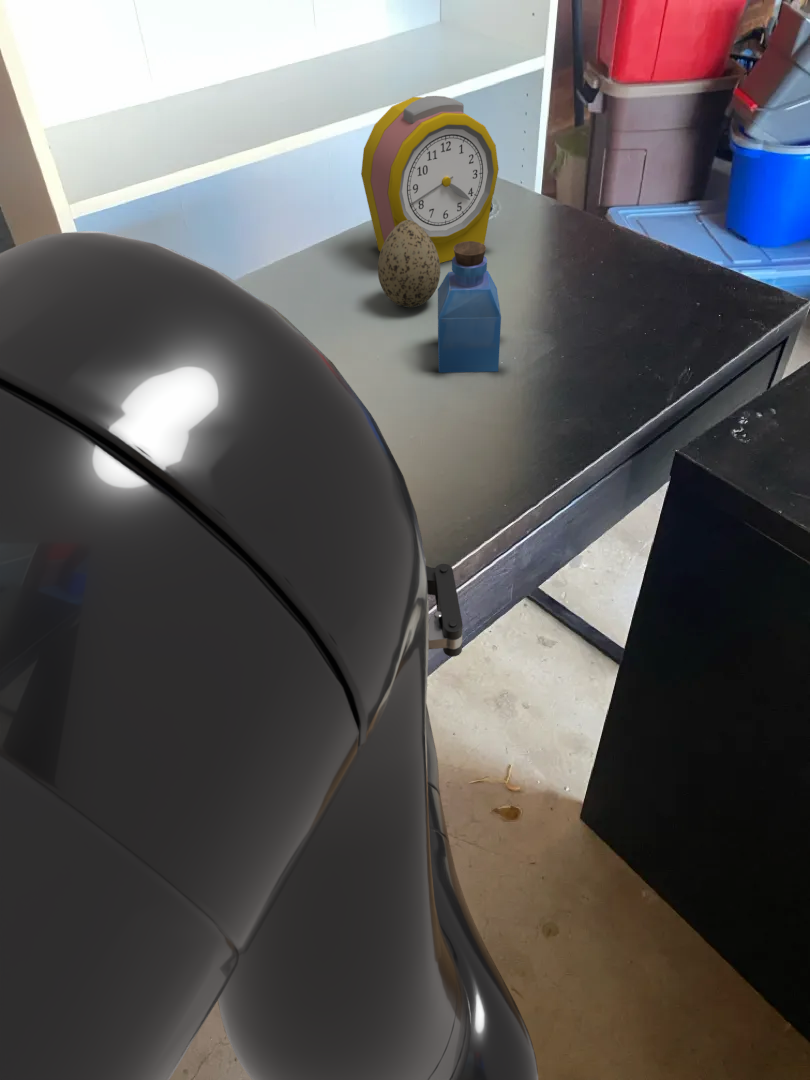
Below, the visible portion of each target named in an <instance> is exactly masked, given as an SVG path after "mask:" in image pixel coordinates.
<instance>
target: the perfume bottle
mask: <svg viewBox="0 0 810 1080" xmlns="http://www.w3.org/2000/svg"><path fill="white" fill-rule="evenodd" d="M486 249H487V246H486V245H485V243H484V244H482V243H479V242H474V241H466V242H461V243H458V244H456V245H455V246H454V253H455V256H454V257H453V259H452V260H451V271H448V272H447V273H446V275H445V277H444V278H443V280H442V282H441V283H440V286H439V287H438V289H437V351H438V352H437V353H438V357H437V358H438V373H439V374H443V373H485V372H486V373H487V372H489V373H491V372H493V373H495V372H499V367H500V366H499V364H500V347H501V346H500V345H501V326H502V314H501V306H500V300H499V294H498V288H497V286H496V283H495V282H494V280H493V278H492V276H491V274H490V272H489V271H488V259H487V257H486V256H485V254H486Z"/></svg>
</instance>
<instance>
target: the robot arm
mask: <svg viewBox="0 0 810 1080" xmlns="http://www.w3.org/2000/svg"><path fill="white" fill-rule="evenodd" d="M426 559H427V558H426V554H425V548H424V542H423V537H422V533H421V528H420V525H419V519H418V514H417V511H416V509H415V505H414V502H413V499H412V497H411V493H410V491H409V488H408V485H407V481H406V479H405V476H404V474H403V473H402V470H401V469H400V466H399V464H398V463H397V461H396V459H395V457H394V455H393V453H392V450H391V449H390V447H389V445H388V443H387V441H386V439H385V437H384V435H383V433H382V432H381V429H380V427H379V426H378V423H377V422H376V420H375V418H374V416H373V415H372V413H371V412H370V411H369V410H368V408H367V407H366V405H365V404H364V403H363V401H362V400H361V399H360V398H359V396H358V395H357V393H356V392H355V391H354V390H353V388H352V386H351V385H350V384H349V383H348V382H347V380H346V379H345V377H344V375H342V374H341V372H340V371H339V370H338V368H337V367H336V365H335V363H333V361H331V360H330V358H328V356H326V355H325V354H324V353H323V352H322V351H321V350H320V349H319V348H318V347H317V346H316V345H314V343H313V342H312V341H311V340H310V339H308V337H307V336H305V334H303V332H301V330H299V329H298V328H297V327H296V326H295V325H294V324H293V323H292V322H291V321H290V320H289V319H288V318H286V316H285V315H283V314H282V313H281V312H279V310H277V309H276V308H274V307H273V306H272V305H271V304H269V303H267V302H265V300H263V299H262V298H260V297H258V296H257V295H256V294H254V293H253V292H251V291H250V290H249V289H247V288H245V286H242V285H241V284H240V283H238V282H237V281H235V280H234V279H232V278H231V277H230V276H228V275H227V274H225V273H224V272H222V271H220V270H217V269H215V268H213V267H211V266H208V265H207V264H204V263H202V262H200V261H198V260H196V259H193V258H192V257H190V256H187V255H185V254H183V253H181V252H178V251H177V250H174V249H172V248H169V247H166V246H162V245H160V244H156V243H152V242H148V241H144V240H139V239H136V238H132V237H128V236H123V235H121V234H115V233H111V232H107V231H98V230H81V231H79V230H78V231H70V232H69V231H67V232H59V233H49V234H44V235H42V236H39V237H36V238H34V239H31V240H29V241H26V242H24V243H21V244H18V245H16V246H14V247H10V248H8V249H6V250H4V251H1V252H0V1080H171V1078H172V1077H173V1075H174V1073H175V1072H176V1070H177V1069H178V1067H179V1065H180V1064H181V1062H182V1060H183V1058H184V1057H185V1055H186V1053H187V1052H188V1050H189V1049H190V1047H191V1045H192V1044H193V1042H194V1040H195V1039H196V1037H197V1035H198V1034H199V1032H200V1030H201V1029H202V1027H203V1025H204V1024H205V1022H206V1021H207V1019H208V1017H209V1016H210V1014H211V1012H212V1010H213V1009H214V1007H215V1006H216V1004H217V1007H218V1010H219V1014H220V1019H221V1022H222V1027H223V1029H224V1033H225V1035H226V1038H227V1040H228V1042H229V1044H230V1047H231V1048H232V1051H233V1053H234V1055H235V1057H236V1059H237V1060H238V1063H239V1064H240V1066H241V1067H242V1069H243V1070H244V1072H245V1073H246V1074H247V1075H248V1077H249V1079H251V1080H539V1070H538V1062H537V1056H536V1052H535V1048H534V1044H533V1040H532V1038H531V1034H530V1032H529V1029H528V1027H527V1025H526V1023H525V1020H524V1018H523V1016H522V1014H521V1012H520V1009H519V1007H518V1005H517V1003H516V1001H515V999H514V997H513V996H512V993H511V992H510V989H509V988H508V986H507V984H506V982H505V980H504V978H503V976H502V974H501V972H500V971H499V969H498V967H497V965H496V963H495V961H494V959H493V957H492V956H491V954H490V951H489V950H488V948H487V946H486V944H485V942H484V939H483V938H482V936H481V934H480V932H479V929H478V927H477V925H476V922H475V921H474V918H473V916H472V913H471V911H470V909H469V906H468V904H467V901H466V898H465V896H464V892H463V890H462V886H461V884H460V880H459V876H458V873H457V869H456V866H455V861H454V857H453V853H452V847H451V844H450V838H449V833H448V827H447V823H446V818H445V811H444V808H443V803H442V797H441V791H440V775H439V761H438V755H437V754H438V753H437V749H436V743H435V738H434V734H433V730H432V729H433V728H432V725H431V719H430V714H429V708H428V704H427V697H428V696H427V695H428V676H429V675H428V674H429V650H439V649H442V650H443V651H442V652H443V653H444V654H445V655H446V656H449V657H458V656H460V654H461V653H462V652H463V626H464V625H463V619H462V613H461V609H460V607H461V606H460V603H459V596H458V592H457V585H456V580H455V575H454V569H453V567H452V566H451V565H449V564H448V563H441V564H438V565H436V566H435V567H432V566H428V565H427V562H426V561H427V560H426ZM429 595H431V596H434V598H435V605H436V611H435V612H433V615H431V616H429V615H430V613H429V612H430V611H429V609H430V608H429V606H430V605H429Z"/></svg>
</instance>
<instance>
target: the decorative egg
mask: <svg viewBox="0 0 810 1080" xmlns="http://www.w3.org/2000/svg"><path fill="white" fill-rule="evenodd" d="M379 252H380V251H379ZM377 277H378V281H379V284H380V287H381V289H382V291H383V293H384V294H385V296H386V297H387V298H388V299H389V300H390V301H391V302H392V303H394V304H396V305H398V306H399V307H402V308H403V307H404V308H416V307H419V306H422V305H423V304H425V303H426V302H428V301H429V300H430V299H431V298H432V297H433V296H434V294H435V292H436V290H437V288H438V285H439V282H440V279H441V278H440V277H441V263H440V262H439V257H438V253H437V251H436V248H435V246H434V244H433V242H432V240H431V238H430V237H429V235H428V234H427V233H426V232H425V231H424V230H423V229H422V228H421V227H420V226H419V225H418V224H417V223H416V222H414V221H411V220H405V221H402V222H401V223H399V224H398V225H397V226H396V227H395V228H394V229H393V230H392V231H391V233H390V234H389V236H388V237H387V239H386V240H385V242H384V244H383V246H382V249H381V252H380V253H379V256H378V259H377Z"/></svg>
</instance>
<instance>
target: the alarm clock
mask: <svg viewBox="0 0 810 1080" xmlns="http://www.w3.org/2000/svg"><path fill="white" fill-rule="evenodd" d="M464 107H465V106H464V103H463V102H461V101H459V100H457V99H455V98H452V97H448V96H443V95H426V96H424V97H422V96H412V97H410V98H408V99H405V100H403V101H401V102H399V103H397V104H394V105H392V106H391V107H390V108H389V109H388V110H387V111H386V112H385V113H384V114H383V115H382V116H381V117H380V118H379V120H378V121H377V122H376V123H375V124H374V125H373V127H372V130H371V132H370V134H369V136H368V138H367V141H366V143H365V145H364V147H363V153H362V161H361V162H362V163H361V173H360V174H361V179H362V183H363V189H364V193H365V195H366V196H365V197H366V202H367V206H368V211H369V214H370V218H371V224H372V228H373V231H374V236H375V240H376V245H377V250H378V251H379V252H381V249H382V246H383V244H384V242H385V240H386V239H387V237H388V236H389V234H390V233H391V231H392V230H393V229H394V228H395V227H396V226H397V225H398V224H399V223H401V222H402V221H405V220H411V221H414V222H416V223H417V224H418V225H419V226H420V227H421V228H422V229H423V230H424V231H425V232H426V233H427V234H428V235H429V237H430V238H431V240H432V242H433V244H434V246H435V248H436V251H437V253H438V257H439V262H440V264H442V263H446V262H448V261H452V259H453V257H454V256H455V253H454V246H455V245H456V244H458V243H461V242H466V241H474V242H479V243H482V244H484V245H485V242H486V237H487V231H488V225H489V220H490V214H491V208H492V203H493V197H494V195H495V189H496V184H497V180H498V175H499V170H500V167H499V160H498V154H497V146H496V145H497V144H496V143H495V142H494V140H493V138H492V136H491V134H490V133H489V131H488V129H487V127H486V126H485V125H484V124H482V123H481V122H479V121H478V120H476V119H475V118H473V117H472V116H470V115H468V114H466V113H464V112H465V111H464Z"/></svg>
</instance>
